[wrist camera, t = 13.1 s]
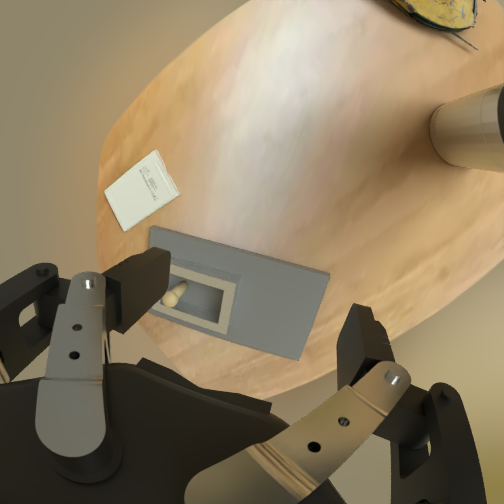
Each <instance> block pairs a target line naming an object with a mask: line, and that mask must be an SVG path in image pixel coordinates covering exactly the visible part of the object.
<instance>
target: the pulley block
mask: <svg viewBox="0 0 504 504" xmlns="http://www.w3.org/2000/svg"><path fill="white" fill-rule="evenodd" d="M390 1H391V2H392V3H393V4H395V5H396V6H397V7H398V8H399V9H400V10H401V11H403V12H404V13H405V14H406V15H407V16H408V17H409V18H411V19H412V17H414V18H415V19H416V20H417V22H419V23H421V24H422V25H424V26H426V27H428V28H431V29H434V30H437V31H441V32H448V33H452V34H453V35H455V36H456V37H458V38H460V39H461V40H463V41H464V42H466V43H467V44H469V45H470V46H472V45H471V44H470V43H468V42H467V41H465V40H464V39H462V38H461V37H460V36H459V35H457V34H455V33H456V32H460V31H463V30H464V29H469V28H470V27H472V25H474V24H475V23H476V22H475V17H476V16H477V1H476V0H390ZM483 1H485V2H486V0H483ZM473 28H474V26H473ZM472 47H473V48H474V49H476V50H478V49H477V48H475V47H474V46H472ZM478 51H479V50H478Z"/></svg>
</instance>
